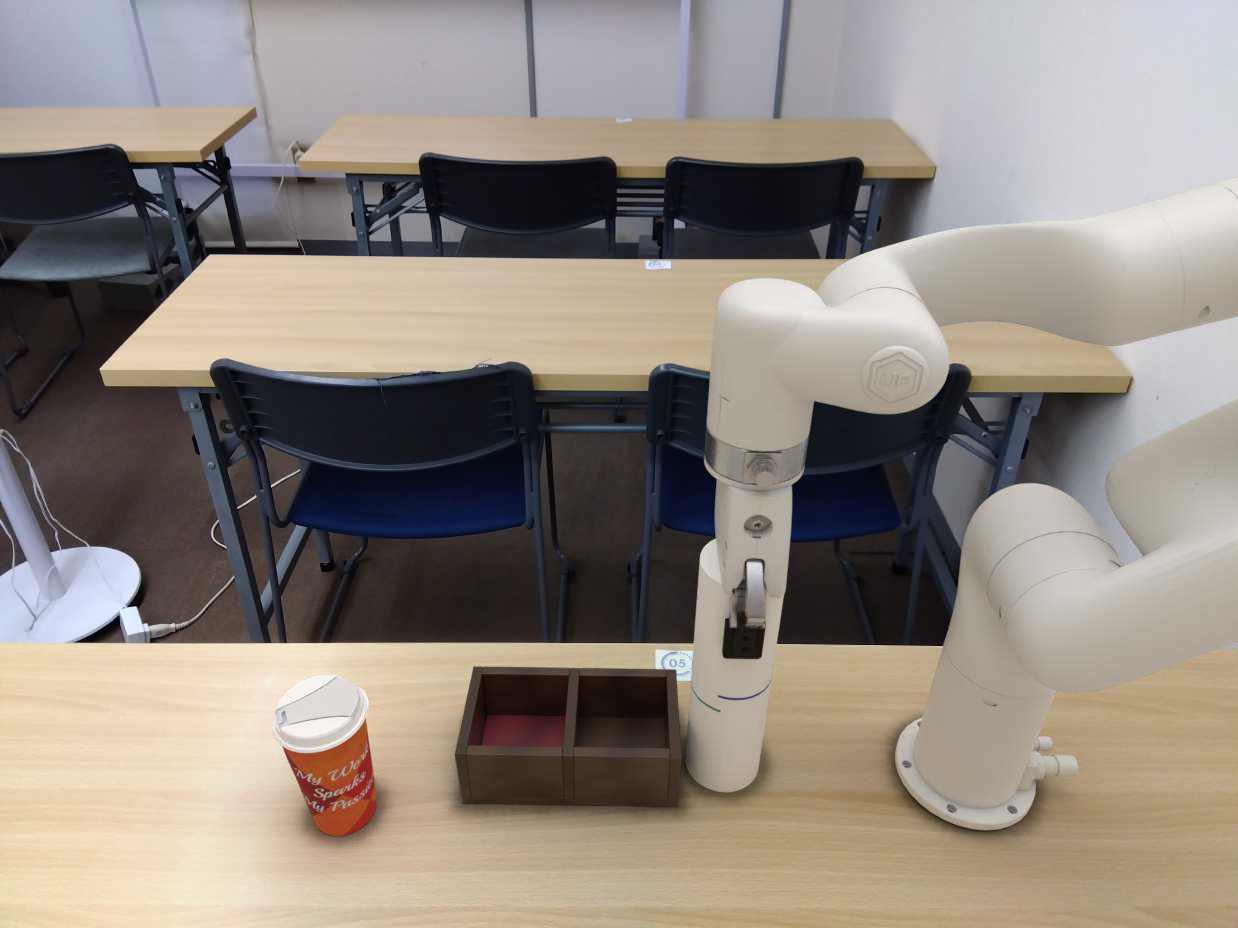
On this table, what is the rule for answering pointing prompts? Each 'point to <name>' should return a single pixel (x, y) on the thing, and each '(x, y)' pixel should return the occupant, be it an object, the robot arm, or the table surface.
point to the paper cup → (329, 751)
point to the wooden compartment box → (570, 737)
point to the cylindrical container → (726, 688)
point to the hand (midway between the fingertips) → (736, 621)
